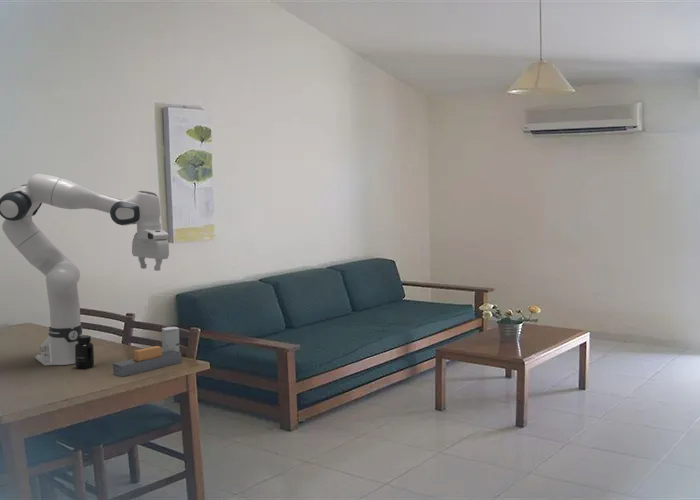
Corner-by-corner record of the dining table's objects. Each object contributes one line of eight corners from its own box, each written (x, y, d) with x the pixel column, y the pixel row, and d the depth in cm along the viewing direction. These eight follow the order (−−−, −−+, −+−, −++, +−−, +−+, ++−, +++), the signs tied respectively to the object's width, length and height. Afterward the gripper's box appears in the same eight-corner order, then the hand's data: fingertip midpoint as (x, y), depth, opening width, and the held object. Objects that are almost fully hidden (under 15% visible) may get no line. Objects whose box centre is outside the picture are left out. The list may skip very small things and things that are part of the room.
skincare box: (165, 359, 285) (164, 329, 283) (161, 357, 288) (160, 328, 287) (180, 357, 288) (179, 328, 287) (176, 355, 292) (175, 326, 290)
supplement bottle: (76, 370, 270) (75, 339, 269) (74, 366, 276) (73, 335, 275) (95, 368, 273) (94, 337, 272) (93, 363, 279) (91, 333, 278)
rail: (113, 373, 265) (112, 363, 264) (172, 360, 284) (172, 350, 284) (121, 376, 261) (121, 366, 260) (181, 362, 280) (181, 352, 280)
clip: (134, 368, 270) (134, 350, 269) (157, 363, 277) (157, 345, 276) (139, 370, 268) (138, 351, 267) (162, 364, 275) (161, 346, 274)
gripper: (127, 232, 278) (128, 268, 279) (156, 235, 264) (158, 272, 266) (141, 231, 283) (142, 266, 284) (171, 234, 269) (172, 270, 270)
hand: (150, 269), depth 275 cm, fingers open, 8 cm apart
